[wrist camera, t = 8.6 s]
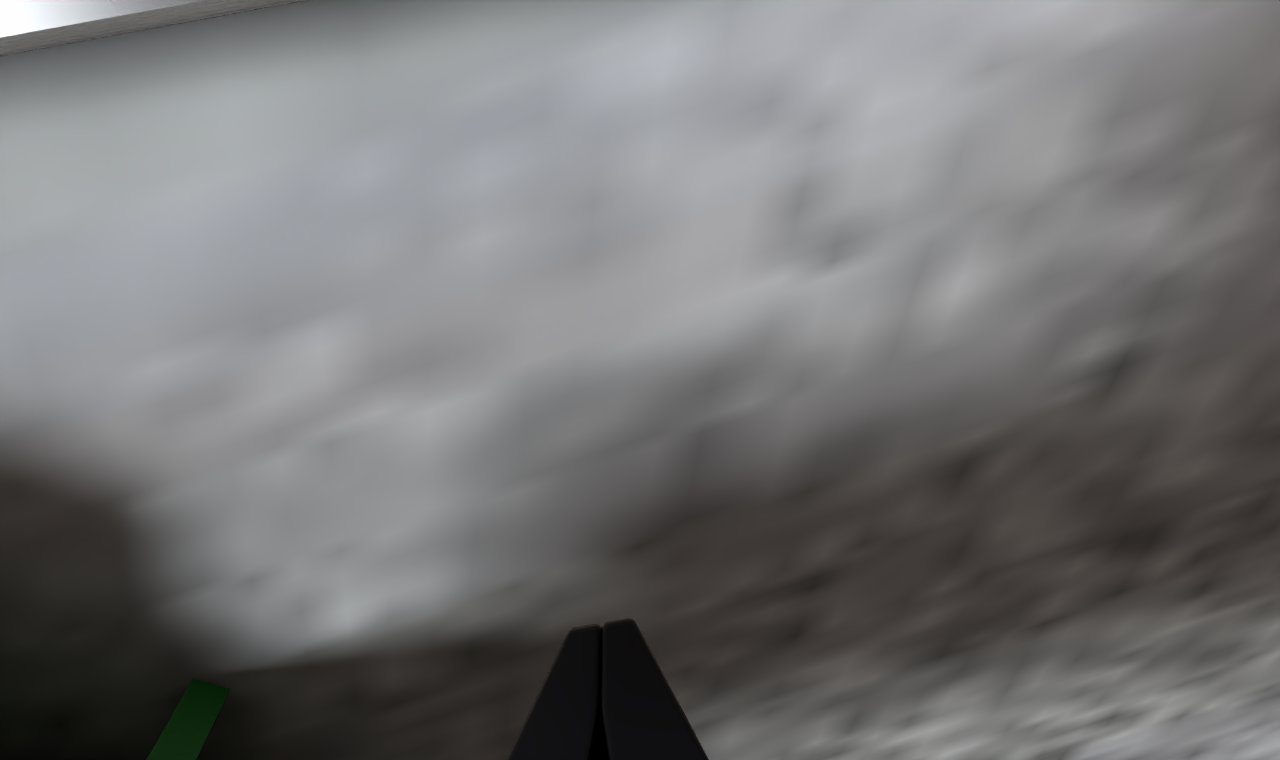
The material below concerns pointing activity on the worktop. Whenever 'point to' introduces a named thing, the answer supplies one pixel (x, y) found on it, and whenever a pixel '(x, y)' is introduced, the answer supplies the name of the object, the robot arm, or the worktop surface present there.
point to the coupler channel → (102, 18)
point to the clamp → (190, 722)
